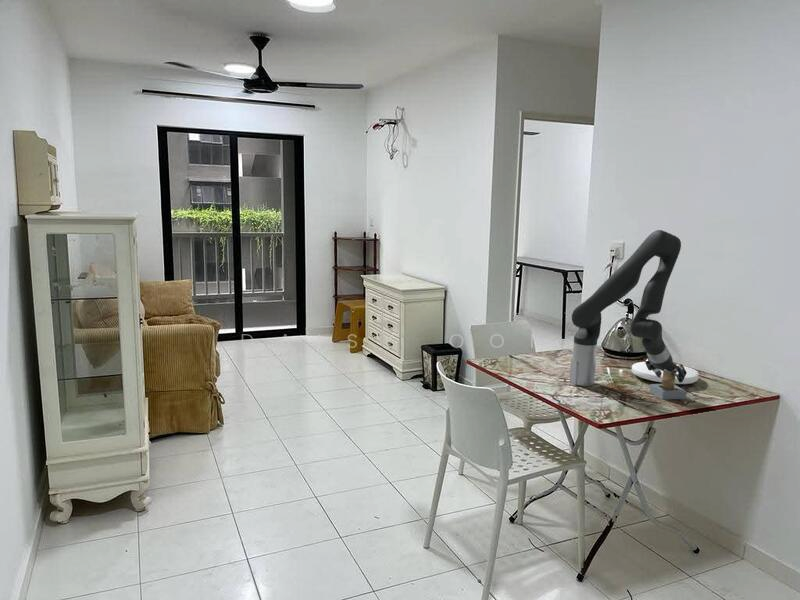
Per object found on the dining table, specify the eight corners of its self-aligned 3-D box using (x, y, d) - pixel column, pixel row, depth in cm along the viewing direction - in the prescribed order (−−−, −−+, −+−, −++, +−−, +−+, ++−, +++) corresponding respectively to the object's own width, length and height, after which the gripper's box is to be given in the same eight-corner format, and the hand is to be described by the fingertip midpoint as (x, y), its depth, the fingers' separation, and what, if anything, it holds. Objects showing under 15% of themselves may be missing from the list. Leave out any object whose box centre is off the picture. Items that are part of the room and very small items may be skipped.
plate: (626, 357, 266) (689, 361, 260) (625, 371, 266) (688, 376, 261) (639, 368, 238) (709, 373, 233) (638, 383, 239) (708, 389, 233)
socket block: (662, 399, 223) (662, 391, 223) (649, 391, 233) (650, 384, 232) (685, 398, 224) (686, 391, 224) (672, 390, 234) (672, 383, 233)
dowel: (665, 397, 226) (667, 364, 224) (659, 393, 230) (661, 361, 228) (675, 396, 227) (678, 364, 224) (669, 393, 231) (672, 361, 229)
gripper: (681, 350, 215) (692, 374, 224) (644, 343, 226) (656, 366, 235) (673, 366, 212) (685, 390, 222) (636, 358, 223) (649, 381, 232)
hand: (670, 378), depth 228 cm, fingers open, 8 cm apart
